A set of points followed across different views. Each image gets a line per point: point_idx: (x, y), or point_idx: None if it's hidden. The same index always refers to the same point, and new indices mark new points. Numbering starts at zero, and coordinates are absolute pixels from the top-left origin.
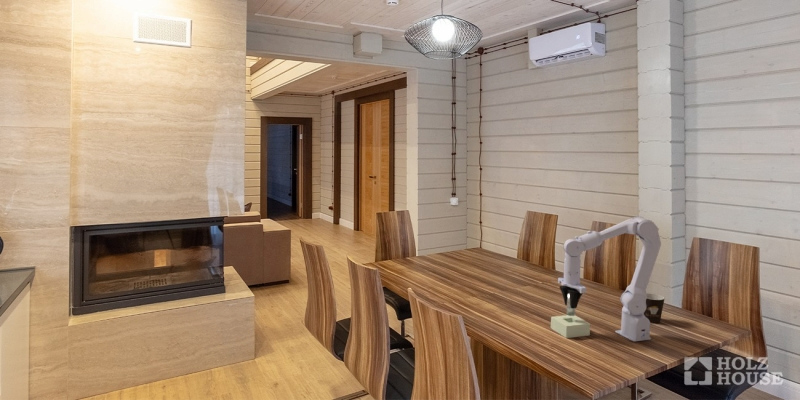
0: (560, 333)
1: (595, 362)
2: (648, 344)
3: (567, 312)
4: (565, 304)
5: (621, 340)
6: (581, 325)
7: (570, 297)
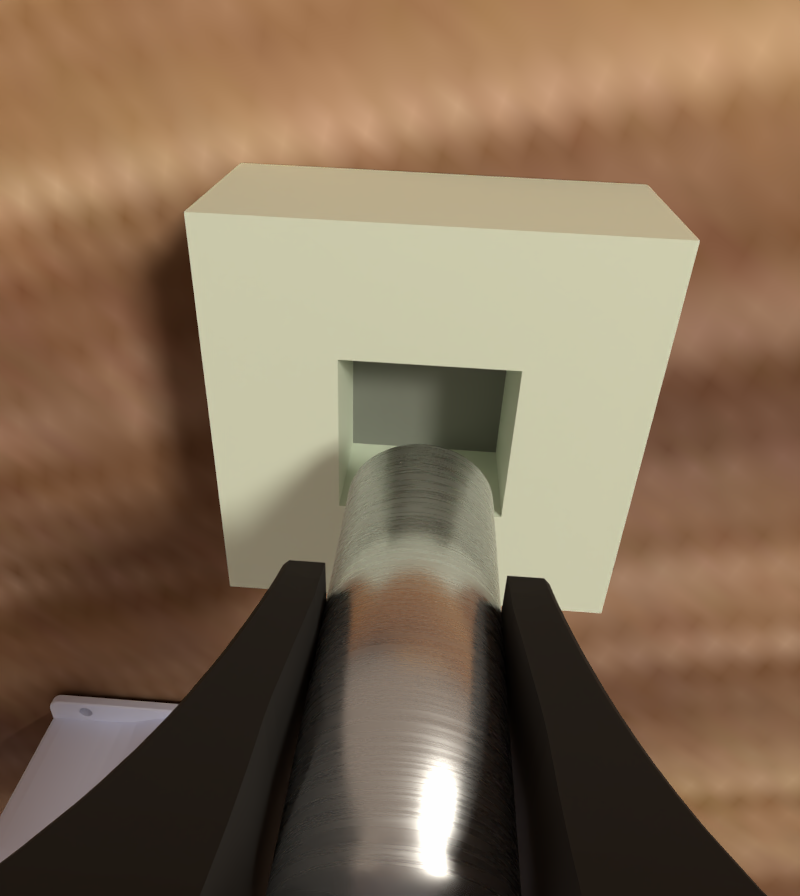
0: (384, 174)
1: None
2: (7, 739)
3: (417, 471)
4: (526, 584)
5: (100, 643)
6: (220, 465)
7: (196, 772)
